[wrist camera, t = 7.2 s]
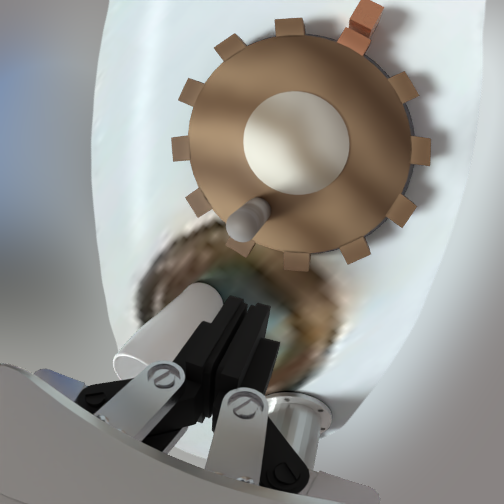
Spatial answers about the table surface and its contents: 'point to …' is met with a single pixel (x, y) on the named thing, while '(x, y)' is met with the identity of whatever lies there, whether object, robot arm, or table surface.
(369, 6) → the sprocket stand
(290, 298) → the table surface
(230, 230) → the sprocket
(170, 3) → the table surface
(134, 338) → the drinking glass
